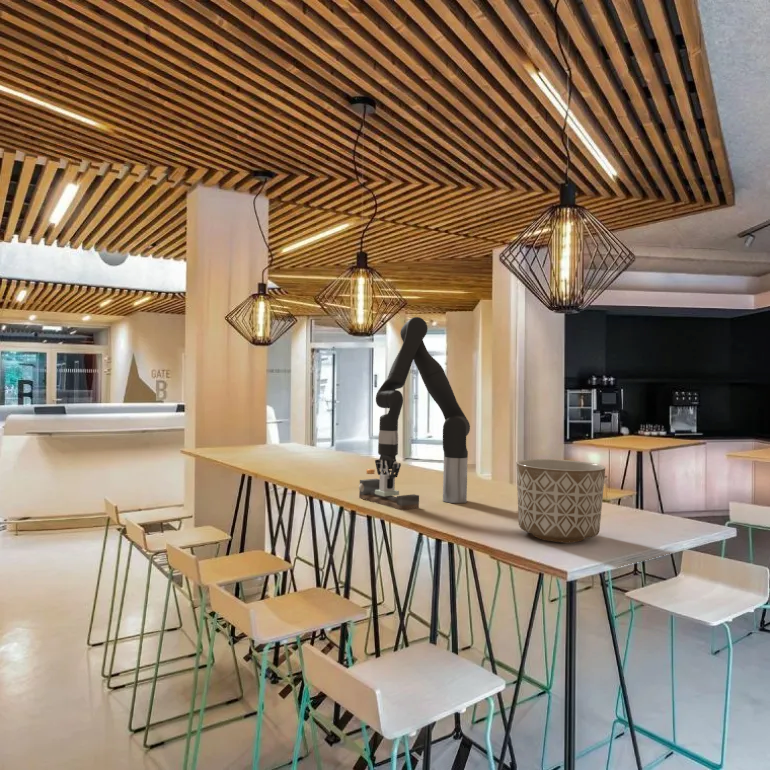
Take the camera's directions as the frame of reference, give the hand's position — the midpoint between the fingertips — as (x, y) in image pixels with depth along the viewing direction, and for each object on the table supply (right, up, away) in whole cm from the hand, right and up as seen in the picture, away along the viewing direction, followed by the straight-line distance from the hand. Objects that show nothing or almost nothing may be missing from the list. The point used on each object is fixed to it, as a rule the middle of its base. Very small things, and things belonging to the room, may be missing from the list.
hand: (387, 487), depth 237 cm
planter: (+52, -7, -47) cm, 71 cm away
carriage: (0, -3, 0) cm, 3 cm away
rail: (0, -6, -1) cm, 6 cm away
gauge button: (-7, +4, +9) cm, 12 cm away
